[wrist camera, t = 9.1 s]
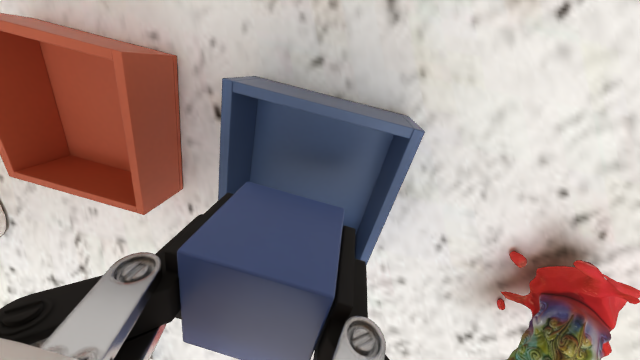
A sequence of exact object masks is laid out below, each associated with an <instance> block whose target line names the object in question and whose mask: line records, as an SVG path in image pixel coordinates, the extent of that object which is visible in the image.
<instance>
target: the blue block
mask: <svg viewBox="0 0 640 360" xmlns="http://www.w3.org/2000/svg"><path fill="white" fill-rule="evenodd" d="M343 218H344V208H341V207H337V206H334V205H330V204H327V203H323V202H319V201H316V200H312V199H309V198H305V197H302V196H298V195H294V194H291V193H287V192H284V191H280V190H277V189H273V188H270V187H266V186H262V185H259V184H255V183H252V182H246V183H245V184H244V185H243V186H242V187H241V188H240V189H239V190H238V191H237V192H236V193H235V194H234V195H233V196H232V197H231V198H230V199H229V200H228V201H227V202H226V203H225V204H224V205H222V206H221V207H220V208H219V209H218V210H217V211H216V212H215V213H214V214H213V215H212V216H211V217H210V218H209V219H208V220H207V221H206V222H205V223H204V224H203V225H202V226H201V227H200V228H199V229H198V230H197V231H196V232H195V233H194V234H193V235H192V236H191V237H190V238H189V239H188V240H187V241H186V242H185V243H184V244H183V245H182V246H181V247H180V248H179V249H178V251H177V263H178V277H179V290H180V304H181V318H182V332H183V341H184V342H186V343H189V344H192V345H195V346H199V347H202V348H205V349H208V350H211V351H215V352H218V353H221V354H224V355H227V356H231V357H234V358H237V359H240V360H310V359H311V357H312V354H313V352H314V349H315V347H316V344H317V341H318V339H319V336H320V334H321V331H322V329H323V326H324V324H325V321H326V318H327V316H328V313H329V311H330V308H331V306H332V303H333V300H334V298H335V290H336V281H337V272H338V263H339V254H340V245H341V236H342V227H343Z"/></svg>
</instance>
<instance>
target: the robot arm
mask: <svg viewBox="0 0 640 360" xmlns="http://www.w3.org/2000/svg"><path fill="white" fill-rule="evenodd" d="M233 195H234V194H232V193H226V194H225V195H224V196H223V197H222V198H221V199H220V200H219V201H217V202H216V203H215V204H214V205H213V206H212V207H211V208H210V209H209V210H208V211H207V212H206V213H205V214H201V215H199V216H197V217H196V218H195V219H194V220H193V221H192V222H190V223H189V224H188V225H187V226H186V227H185V228H184V229H183V230H182V231H180V232H179V233H178V234H177V235H176V236H175V237H174V238H173V239H172V240H171V241H169V242H168V243H167V244H166V245H165V246H164V247H163V248H162V249H161V250H159V251H158V252H157V253H156V254H153V253H148V252H140V253H135V254H131V255H128V256H126V257H124V258H122V259H120V260H118V261H117V262H116V263H115V264H113V265H112V266H111V267H110V268H109V270H108V271H107V272H106V273H105V274H104V275H102V276H99V277H95V278H91V279H87V280H83V281H80V282H76V283H72V284H68V285H65V286H61V287H57V288H53V289H49V290H46V291H42V292H38V293H34V294H31V295H28V296H25V297H22V298H19V299H17V300H15V301H13V302H11V303H9V304H7V305H5V306H4V307H2V308H1V309H0V360H149V359H150V357H151V355H152V353H153V351H154V349H155V347H156V345H157V343H158V341H159V339H160V337H161V335H162V333H163V331H164V328H165V326H166V324H167V323H169V322H171V321H172V320H173V319H174V318H175V317H176V318H179V319H182V318H181V304H180V290H179V277H178V263H177V251H178V249H179V248H180V247H181V246H182V245H183V244H184V243H185V242H186V241H187V240H188V239H189V238H190V237H191V236H192V235H193V234H194V233H195V232H196V231H197V230H198V229H199V228H200V227H201V226H202V225H203V224H204V223H205V222H206V221H207V220H208V219H209V218H210V217H211V216H212V215H213V214H214V213H215V212H216V211H217V210H218V209H219V208H220V207H221V206H222V205H224V204H225V203H226V202H227V201H228V200H229V199H230V198H231V197H232V196H233ZM5 230H6V218H5V214H4V212H3V210H2V207H1V205H0V236H2V235H3V234H4V232H5ZM355 231H356V230H355V228H352V227H348V226H345V225H344V226H343V228H342V236H341V245H340V254H339V263H338V272H337V281H336V290H335V298H334V300H333V303H332V306H331V308H330V311H329V313H328V316H327V318H326V321H325V324H324V326H323V329H322V331H321V334H320V336H319V339H318V341H317V344H316V347H315V349H314V350H315V353H314V359H313V360H389V359H388V357H387V356H386V355H385V351H386V342H385V339H384V335H383V333H382V332H381V330H380V328H379V327H378V326H377V325H376V324H375V323H374V322H373V321H371V320H370V319H369V318H368V313H367V278H366V262H365V261H362V260H358V259H355Z"/></svg>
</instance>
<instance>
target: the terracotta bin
mask: <svg viewBox="0 0 640 360" xmlns="http://www.w3.org/2000/svg"><path fill="white" fill-rule="evenodd" d="M0 155H1V158H2V160H3V162H4V165H5V167H6V169H7V172H8V174H9V176H10V177H14V178H17V179H21V180H24V181H28V182H31V183H35V184H38V185H42V186H45V187H49V188H52V189H56V190H59V191H63V192H66V193H70V194H73V195H77V196H80V197H84V198H87V199H91V200H94V201H98V202H101V203H105V204H108V205H112V206H115V207H119V208H122V209H126V210H129V211H132V212H136V213H139V214H143V215H145V214H146V213H148V212H149V211H151V210H152V209H154V208H155V207H157V206H158V205H160V204H161V203H163V202H164V201H166V200H167V199H168V198H170V197H171V196H173V195H174V194H176V193H177V192H179V191H180V190H182V189H183V182H182V160H181V139H180V117H179V96H178V74H177V56H176V55H172V54H168V53H164V52H160V51H157V50H153V49H149V48H145V47H141V46H137V45H134V44H130V43H126V42H122V41H118V40H114V39H111V38H107V37H103V36H99V35H95V34H91V33H88V32H84V31H80V30H76V29H72V28H68V27H65V26H61V25H57V24H53V23H49V22H45V21H42V20H38V19H34V18H29V17H22V16H16V15H9V14H3V13H0Z"/></svg>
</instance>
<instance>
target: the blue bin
mask: <svg viewBox="0 0 640 360" xmlns="http://www.w3.org/2000/svg"><path fill="white" fill-rule="evenodd" d="M424 133H425V131H424V130H423V129H422V128H420V127H419V126H418V125H417V124H416V123H415V122H414V121H413V120H412V119H411V118H410V117H409V116H406V115H402V114H398V113H394V112H390V111H386V110H383V109H379V108H375V107H371V106H367V105H363V104H360V103H356V102H352V101H348V100H344V99H340V98H337V97H333V96H329V95H325V94H321V93H317V92H314V91H310V90H306V89H302V88H298V87H295V86H291V85H287V84H283V83H279V82H275V81H272V80H268V79H264V78H260V77H256V76H251V77H235V78H223V79H222V106H221V135H220V165H219V194H218V201H219V200H220V199H221V198H222V197H223V196H224V195H225V194H226V193H232V194H235V193H236V192H237V191H238V190H239V189H240V188H241V187H242V186H243V185H244V184H245V183H246V182H252V183H255V184H259V185H262V186H266V187H270V188H273V189H277V190H280V191H284V192H287V193H291V194H294V195H298V196H302V197H305V198H309V199H312V200H316V201H319V202H323V203H327V204H330V205H334V206H337V207H341V208H344V218H343V226H344V225H345V226H348V227H352V228H355V230H356V231H355V259H358V260H362V261H365V262H366V265H367V262H368V260H369V258H370V255H371V253H372V251H373V249H374V246H375V244H376V242H377V240H378V237H379V235H380V233H381V230H382V228H383V226H384V224H385V221H386V219H387V217H388V215H389V212H390V210H391V208H392V205H393V203H394V201H395V199H396V196H397V194H398V192H399V190H400V187H401V185H402V183H403V180H404V178H405V176H406V174H407V171H408V169H409V167H410V165H411V162H412V160H413V158H414V155H415V153H416V151H417V149H418V146H419V144H420V142H421V140H422V137H423V135H424ZM342 228H343V227H342Z"/></svg>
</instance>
